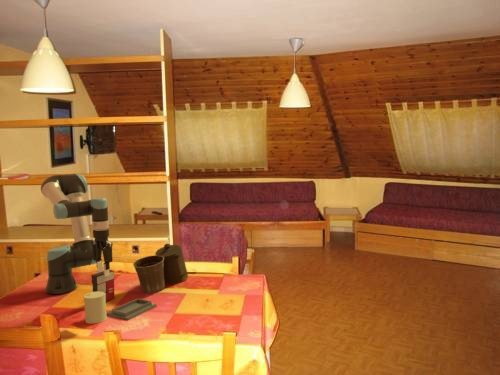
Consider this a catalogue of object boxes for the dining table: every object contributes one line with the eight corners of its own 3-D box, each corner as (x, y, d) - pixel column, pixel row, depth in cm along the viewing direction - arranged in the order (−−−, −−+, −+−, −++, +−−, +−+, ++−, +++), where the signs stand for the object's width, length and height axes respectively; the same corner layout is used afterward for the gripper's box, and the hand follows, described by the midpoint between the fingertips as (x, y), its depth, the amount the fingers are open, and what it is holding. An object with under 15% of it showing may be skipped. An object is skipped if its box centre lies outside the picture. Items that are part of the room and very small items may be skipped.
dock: (106, 314, 192) (106, 309, 192) (135, 301, 207) (135, 297, 207) (128, 320, 185) (127, 314, 185) (156, 306, 200) (156, 301, 200)
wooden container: (187, 270, 245) (179, 236, 239) (188, 281, 231) (180, 246, 225) (162, 276, 243) (153, 242, 237) (162, 288, 229) (152, 252, 223)
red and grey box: (97, 306, 203) (97, 276, 202) (92, 304, 206) (91, 275, 204) (115, 298, 213) (115, 270, 211) (109, 297, 215) (109, 269, 213)
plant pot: (135, 297, 215) (130, 268, 212) (140, 284, 231) (135, 257, 228) (167, 293, 217) (162, 264, 214) (169, 280, 233) (165, 253, 229)
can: (88, 316, 191) (87, 290, 190) (109, 314, 192) (107, 289, 191) (82, 324, 182) (80, 297, 181) (104, 323, 183) (102, 296, 182)
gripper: (83, 229, 207) (86, 274, 209) (106, 232, 198) (109, 279, 200) (95, 226, 213) (98, 270, 215) (118, 229, 204) (121, 275, 207)
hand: (103, 274), depth 208 cm, fingers open, 4 cm apart
